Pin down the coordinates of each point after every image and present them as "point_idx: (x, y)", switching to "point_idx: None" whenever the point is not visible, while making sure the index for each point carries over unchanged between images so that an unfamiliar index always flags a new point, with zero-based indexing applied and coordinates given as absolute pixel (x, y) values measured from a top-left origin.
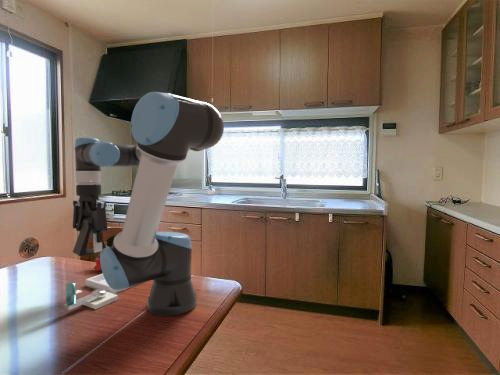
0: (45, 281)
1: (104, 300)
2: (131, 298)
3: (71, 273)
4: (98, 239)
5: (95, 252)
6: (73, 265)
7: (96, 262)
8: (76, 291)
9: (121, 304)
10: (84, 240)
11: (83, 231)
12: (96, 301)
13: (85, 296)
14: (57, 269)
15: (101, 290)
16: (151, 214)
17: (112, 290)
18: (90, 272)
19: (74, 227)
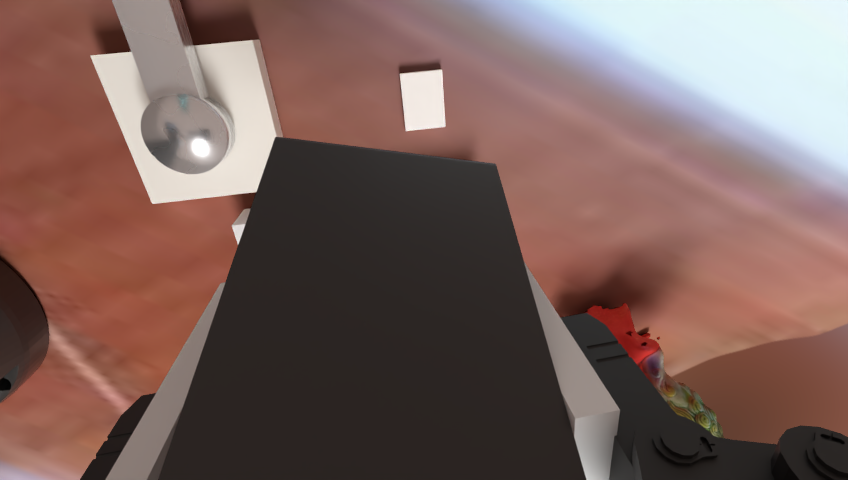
0: (740, 78)
1: (126, 122)
2: (132, 240)
3: (707, 221)
4: (126, 436)
5: (221, 287)
6: (795, 278)
7: (637, 337)
8: (428, 108)
9: (86, 174)
10: (225, 296)
11: (390, 450)
12: (142, 86)
13: (177, 47)
14: (831, 204)
15: (187, 151)
16: None
17: (242, 218)
18: (627, 283)
19: (796, 455)
